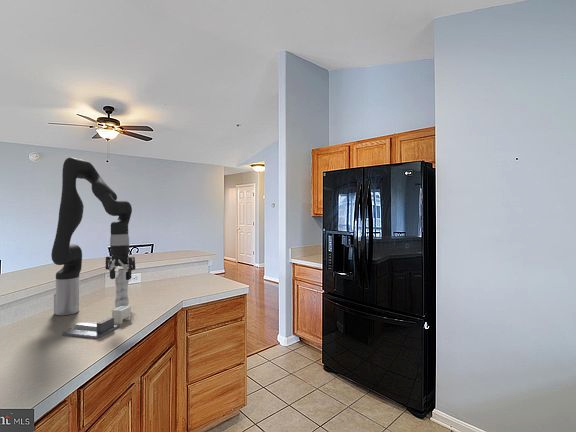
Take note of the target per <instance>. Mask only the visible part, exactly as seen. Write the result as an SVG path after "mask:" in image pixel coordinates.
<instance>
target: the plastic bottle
mask: <svg viewBox="0 0 576 432" xmlns="http://www.w3.org/2000/svg"><path fill="white" fill-rule="evenodd" d="M129 282H130V280H126V270H125V269H124V268H118V269H117V276H115V279H114V284H115V300H114V307H115V308H118V307H120V306H129V304H130V301H129V295H128V293H129V292H128V291H129Z"/></svg>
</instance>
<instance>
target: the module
mask: <svg viewBox="0 0 576 432" xmlns="http://www.w3.org/2000/svg"><path fill="white" fill-rule="evenodd" d="M111 317H114V324H118V325H122V324H123V323H124V322H123V320H127V321H130V320H131V306H130V305H128V306H120V307H118V308H116V307H115V308H114V309H112V310H111Z"/></svg>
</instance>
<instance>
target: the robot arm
mask: <svg viewBox="0 0 576 432" xmlns="http://www.w3.org/2000/svg"><path fill="white" fill-rule="evenodd" d="M61 172H62V175H61V177H62V178H61V179H62V183H61V184H62V185H61V195H60V196H61V198H60V204H59V210H58V211H59V212H58V218H57V219H58V220H57V228H56V233H55V237H54V241H53V244H52V249H51V260H52V262H53V263H54V264H55V265H57V266H62V265H63V267H62V268H61V269H60V270H58V271H57V272H56V273H55V293H54V294H53V314H55V316H68V315H69V316H70V315H73V314H76V313H78V312H79V311H80V273H81V271H82V264H83V263H82V262H83V252H82V248H81V247H80V245H78V244H74V243H71V239H72V236H73V234H74V232H75V231H77V228H78V227H79V225H80V224H81V222H82V219H83V216H84V208H85V207H84V202H83V200H82V198H81V196H80V195H79V193H78V191H77V190H78V189H77V179H81V180H85V181H87V182H88V183H89V184H91V191H92V194H93V195H94V197H96V198H97V200H99V201H100V202H101V204H102V207H103V209H104V210H105V212H106V213H107V214H108V215H109V216H112V217H117V219H116V220H115V221H112V222H111V223H110V239H109V242H110V243H109V245H110V247H109V249H110V251H109V252H110V255H108V256H105V270H108V271H109V278H110V280H115V278H116V269H117V267H122V269H125V270H126V280H129V281H130V280H131V279H132V271H135V270H136V260H135V259H136V258H135V256H130V257H129V254H130V235H129V224H130V221H131V216H132V212H133V207H132V204H131V203H130V202H129V201H128V200H118V196H117V194H116V192H115V191H114V190H113V189H112V188H111V187H110V186H108V185H107V183H106V182H105V181H104V180H103V178H102V177H101V175H100V174H99V172H98V170H96V168H95V166H94V165H93V164H92V163H91V162H90V161H89V160H86V159H82V158H76V157H68V158H65V160H64V162H63V165H62V171H61ZM70 243H71V244H70Z"/></svg>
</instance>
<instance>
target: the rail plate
mask: <svg viewBox="0 0 576 432" xmlns="http://www.w3.org/2000/svg"><path fill="white" fill-rule="evenodd" d="M73 325H74V326H73V327H72V328H69V329H68V330H65V331H63V332H62V334H61V336H68V337H77V338H87V339H99V338H101V337H103V336H106V335H107V334H109V333H111V332H113V331H114V330H116V329H118V328H120V324H115V323H114V317H112V316H109V317H108V318H106V319H103V320H100V321H98V322H94V321H85V322H77V323H75V324H73Z"/></svg>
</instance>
